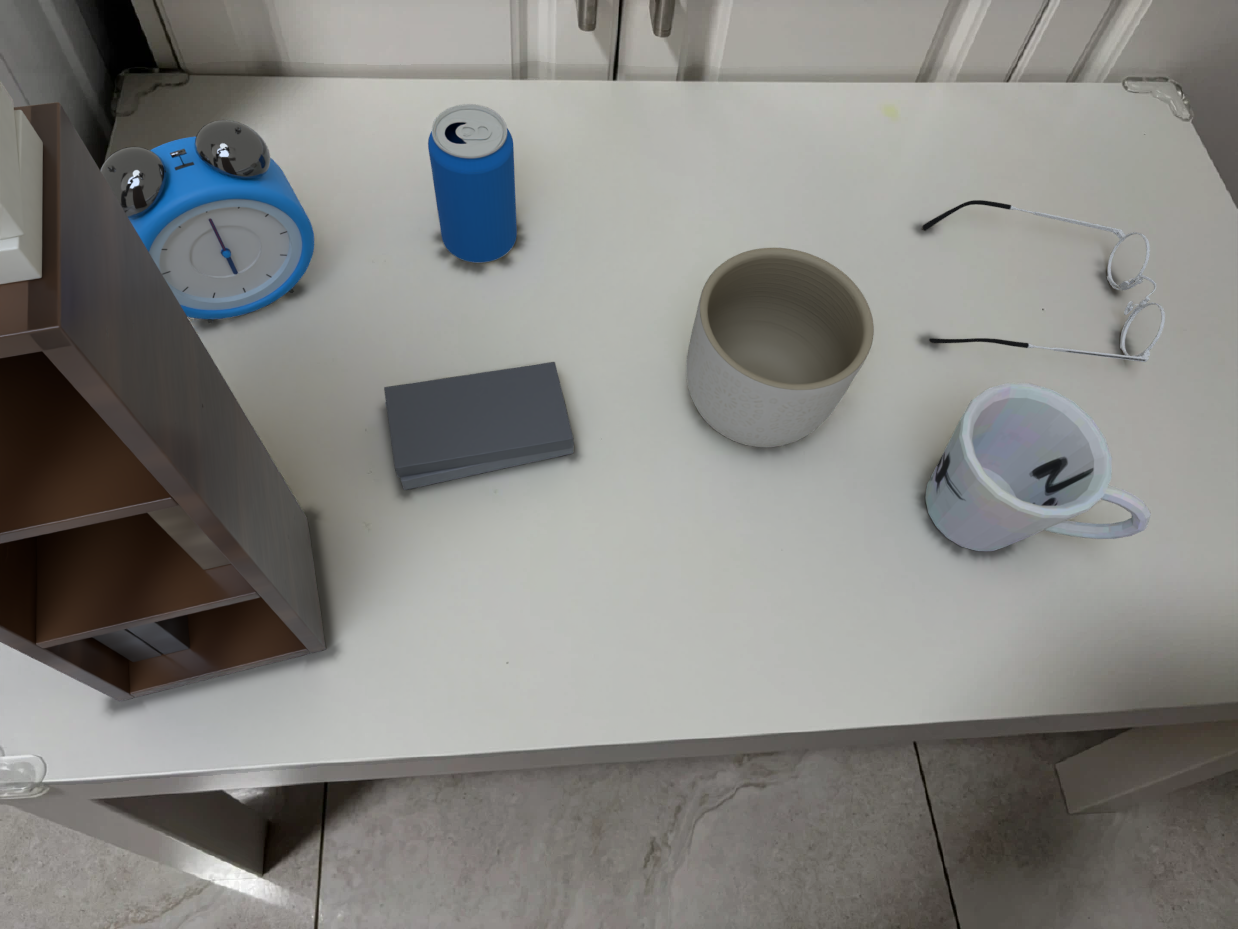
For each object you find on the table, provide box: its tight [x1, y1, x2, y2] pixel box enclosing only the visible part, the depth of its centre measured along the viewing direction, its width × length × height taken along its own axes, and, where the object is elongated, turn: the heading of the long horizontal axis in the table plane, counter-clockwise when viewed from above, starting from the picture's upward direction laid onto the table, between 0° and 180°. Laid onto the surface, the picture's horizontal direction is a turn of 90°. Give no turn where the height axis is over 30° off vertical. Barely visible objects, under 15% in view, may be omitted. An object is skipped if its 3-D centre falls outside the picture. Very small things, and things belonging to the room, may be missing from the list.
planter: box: [685, 247, 875, 448], centre depth 65 cm, size 12×12×11 cm
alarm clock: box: [99, 119, 315, 324], centre depth 64 cm, size 13×6×15 cm, turn 120°
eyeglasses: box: [922, 199, 1166, 363], centre depth 75 cm, size 16×19×5 cm
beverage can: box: [427, 103, 518, 264], centre depth 70 cm, size 6×6×12 cm
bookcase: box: [0, 101, 327, 702], centre depth 43 cm, size 13×10×36 cm
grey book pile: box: [383, 361, 575, 491], centre depth 65 cm, size 13×8×3 cm, turn 106°
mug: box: [925, 382, 1152, 552], centre depth 62 cm, size 10×15×10 cm
